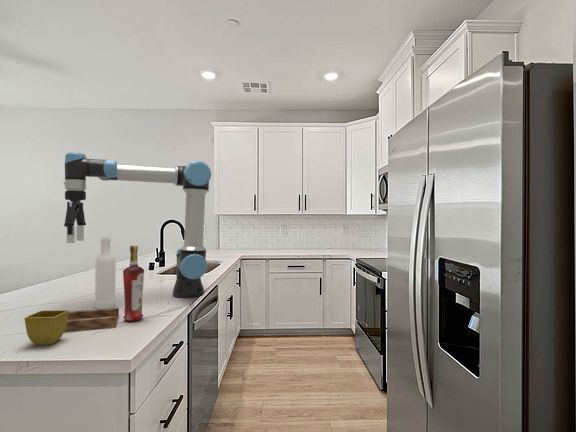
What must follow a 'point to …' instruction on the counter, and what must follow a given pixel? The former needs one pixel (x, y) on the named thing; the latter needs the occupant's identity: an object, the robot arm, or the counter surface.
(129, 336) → the counter surface
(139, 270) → the liquor
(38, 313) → the flower pot
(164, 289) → the counter surface
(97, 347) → the counter surface
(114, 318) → the rest
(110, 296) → the bottle
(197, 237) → the robot arm
